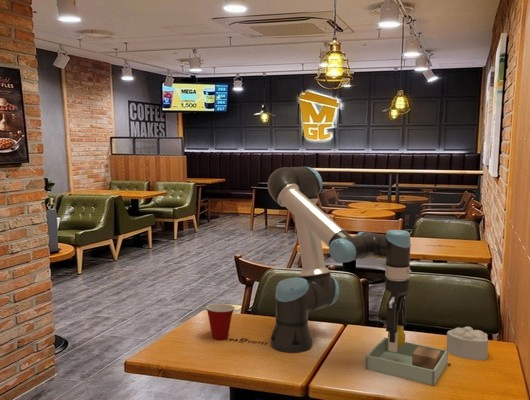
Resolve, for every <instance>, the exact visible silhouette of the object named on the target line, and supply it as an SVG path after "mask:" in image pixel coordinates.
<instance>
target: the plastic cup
mask: <svg viewBox="0 0 530 400" xmlns="http://www.w3.org/2000/svg"><path fill="white" fill-rule="evenodd" d="M205 309H206V311H207V315H208V320H209V322H208V323H209V327H210V332H211V337H212V338H213V340H215V341H216V340H217V341H223V340H226V339H228V337H229V332H230V328H231V322H232V316H233V313H234V310H235V306H234V305H231V304H227V303H212V304H207V305H206V307H205Z"/></svg>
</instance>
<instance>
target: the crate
mask: <svg viewBox="0 0 530 400" xmlns="http://www.w3.org/2000/svg"><path fill="white" fill-rule="evenodd" d="M388 343H389V341H388V337H383V338H382V339H381V340H380V341H379V342H378V343H377V344H376V345H375V346H374V347H373V348H372V349H371V350H370V351H369V352H368V353H367V354H366V355H365V370H369V371H372V372H377V373H380V374H385V375H389V376H392V377H397V378H401V379H405V380H409V381H413V382H417V383H421V384H425V385H429V386H435V385H436V383H437V381H438V380H439V378H440V376H441V375H442V373H443V372H444V371H445V369H446V367H447V365H448V361H449V360H448V357H449V352H448V350H446V349H441V348H438V347H432V346H428V345H423V344H419V343H418V344H417V343H413V342H410V341H409V342H408V341H405V342H404V344H403V346H401V347H399V348H398V349H397V353H396V352H392V351H388ZM418 346H420V347H424V348H429V349H434V350H439V351H441V356H440V360H439V362H438V363H437V365H436V366H435V368H434V369H433V370H430V369H426V368H421V367H417V366H413V365H412V354H413V352H414V351H415V350H416V349H417V347H418Z"/></svg>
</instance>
